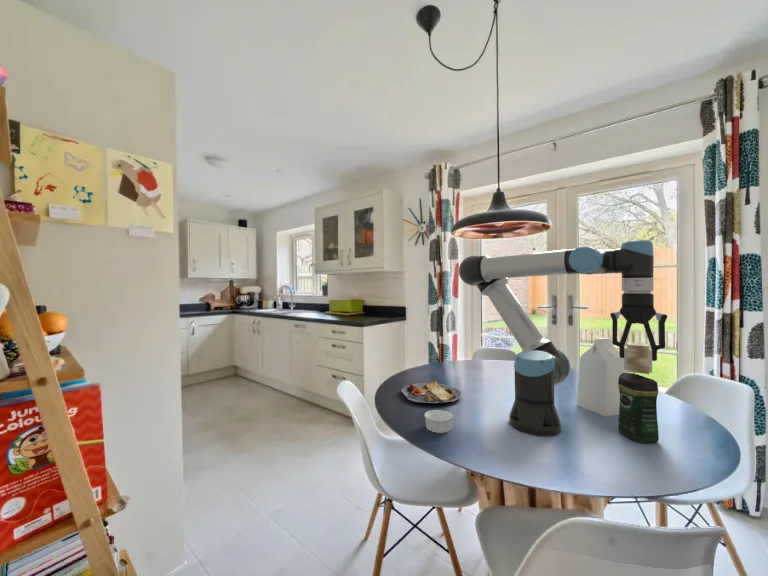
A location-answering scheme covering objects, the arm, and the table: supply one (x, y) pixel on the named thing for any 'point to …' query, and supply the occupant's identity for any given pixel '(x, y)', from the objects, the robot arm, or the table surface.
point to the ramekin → (438, 421)
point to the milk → (600, 378)
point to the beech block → (638, 358)
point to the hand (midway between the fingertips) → (637, 370)
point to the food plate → (435, 388)
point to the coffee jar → (638, 407)
